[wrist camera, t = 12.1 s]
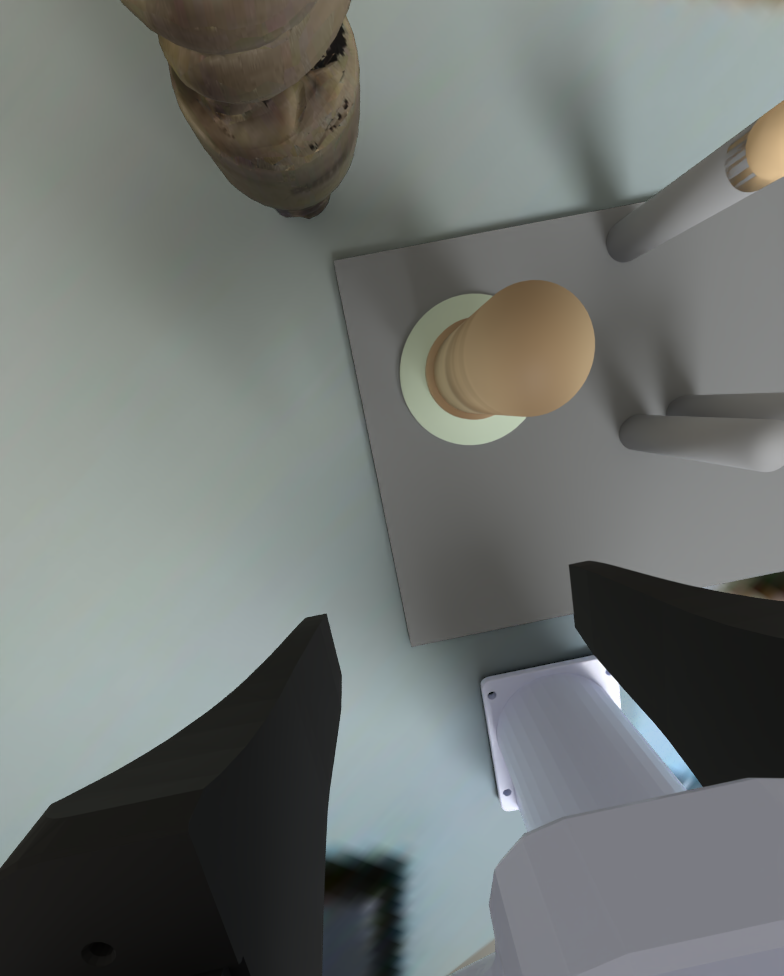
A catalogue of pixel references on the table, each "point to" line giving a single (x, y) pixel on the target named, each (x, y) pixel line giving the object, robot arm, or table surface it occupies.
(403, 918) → the table surface
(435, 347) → the cylinder
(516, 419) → the pad
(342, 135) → the light bulb
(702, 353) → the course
